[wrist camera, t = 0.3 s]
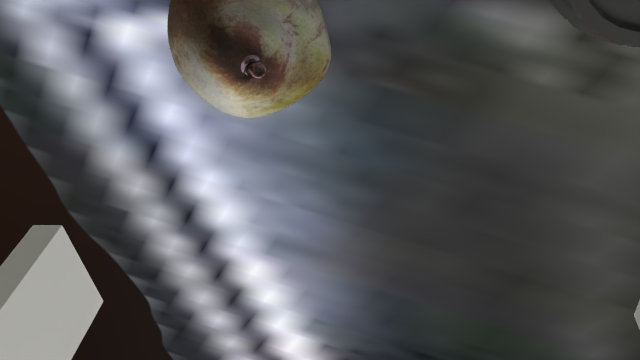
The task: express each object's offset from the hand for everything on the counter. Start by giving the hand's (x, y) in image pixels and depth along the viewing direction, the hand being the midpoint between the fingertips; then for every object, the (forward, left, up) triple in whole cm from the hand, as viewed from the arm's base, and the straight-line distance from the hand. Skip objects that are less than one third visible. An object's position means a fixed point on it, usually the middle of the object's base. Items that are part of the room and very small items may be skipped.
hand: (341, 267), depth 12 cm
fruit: (+4, -8, -28) cm, 29 cm away
